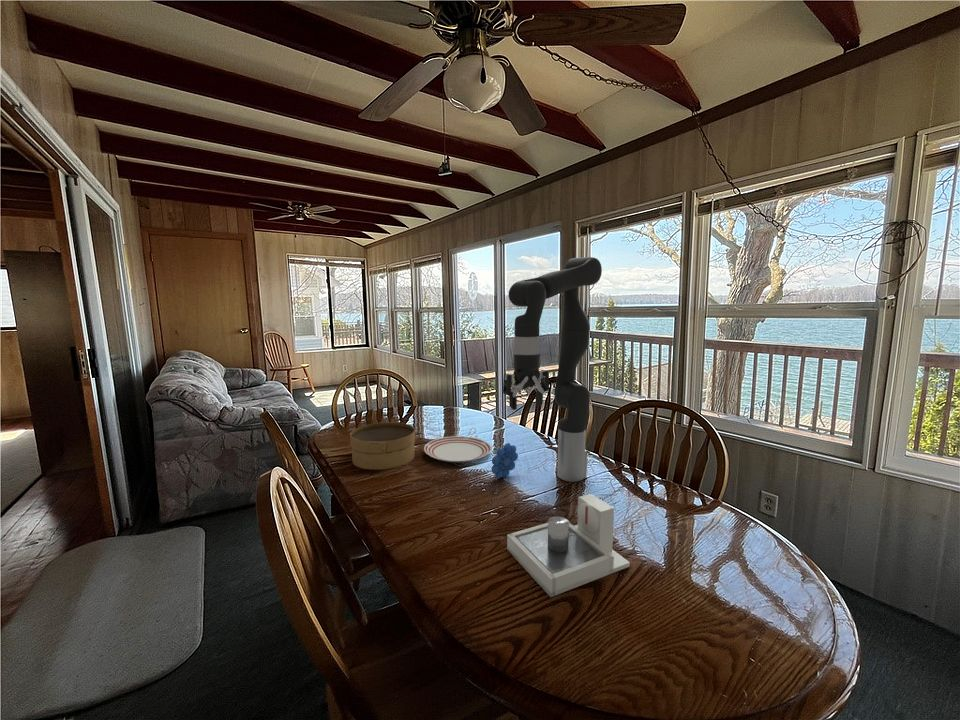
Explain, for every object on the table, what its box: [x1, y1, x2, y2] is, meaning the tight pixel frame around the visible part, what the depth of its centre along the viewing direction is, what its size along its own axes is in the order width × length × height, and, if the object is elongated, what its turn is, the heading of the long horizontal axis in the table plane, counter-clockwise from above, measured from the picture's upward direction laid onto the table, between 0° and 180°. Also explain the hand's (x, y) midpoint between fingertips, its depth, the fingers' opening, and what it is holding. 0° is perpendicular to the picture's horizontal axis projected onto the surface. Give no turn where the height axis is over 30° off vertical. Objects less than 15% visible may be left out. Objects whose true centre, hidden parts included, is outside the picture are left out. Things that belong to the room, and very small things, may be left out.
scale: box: [506, 493, 631, 598], centre depth 94 cm, size 22×18×12 cm
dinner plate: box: [423, 435, 493, 464], centre depth 161 cm, size 28×27×3 cm
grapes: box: [490, 442, 519, 479], centre depth 139 cm, size 12×7×12 cm, turn 127°
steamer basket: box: [349, 421, 416, 471], centre depth 158 cm, size 25×25×11 cm
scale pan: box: [517, 529, 602, 574], centre depth 93 cm, size 14×15×1 cm
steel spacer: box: [547, 515, 570, 552], centre depth 92 cm, size 5×5×6 cm
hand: (526, 407), depth 116 cm, fingers open, 8 cm apart
